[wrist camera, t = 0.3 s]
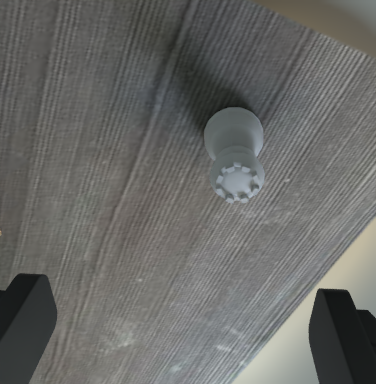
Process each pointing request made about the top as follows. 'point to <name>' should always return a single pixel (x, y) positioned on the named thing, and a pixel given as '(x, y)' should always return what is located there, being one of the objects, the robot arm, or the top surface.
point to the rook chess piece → (235, 153)
